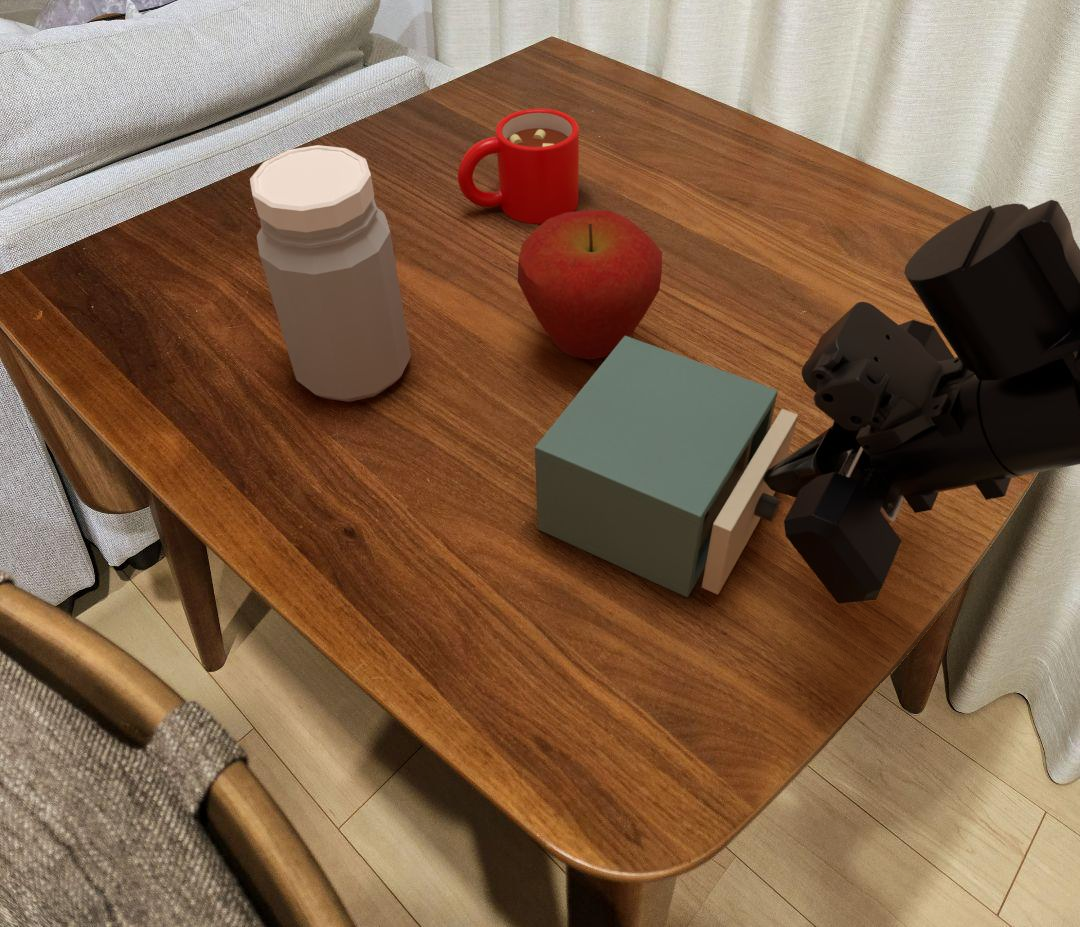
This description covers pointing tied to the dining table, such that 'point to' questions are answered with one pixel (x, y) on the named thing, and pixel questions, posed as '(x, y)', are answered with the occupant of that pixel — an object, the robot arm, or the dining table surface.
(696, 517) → the cabinet
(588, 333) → the apple
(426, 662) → the dining table surface
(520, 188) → the mug
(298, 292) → the jar
